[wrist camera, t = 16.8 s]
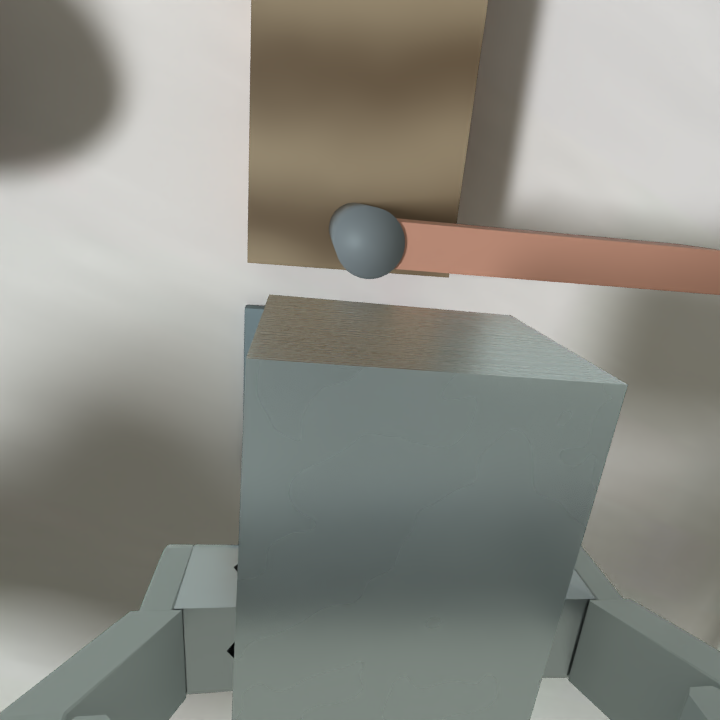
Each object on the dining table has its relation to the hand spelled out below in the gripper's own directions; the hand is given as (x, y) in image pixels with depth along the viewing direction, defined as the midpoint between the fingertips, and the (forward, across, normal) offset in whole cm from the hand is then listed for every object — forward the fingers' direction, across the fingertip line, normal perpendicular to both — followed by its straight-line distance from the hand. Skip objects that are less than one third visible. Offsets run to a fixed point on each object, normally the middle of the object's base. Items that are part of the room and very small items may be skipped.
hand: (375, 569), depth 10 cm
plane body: (+20, -1, -12) cm, 24 cm away
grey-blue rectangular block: (+2, 0, 0) cm, 2 cm away
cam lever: (+16, -7, -5) cm, 18 cm away
